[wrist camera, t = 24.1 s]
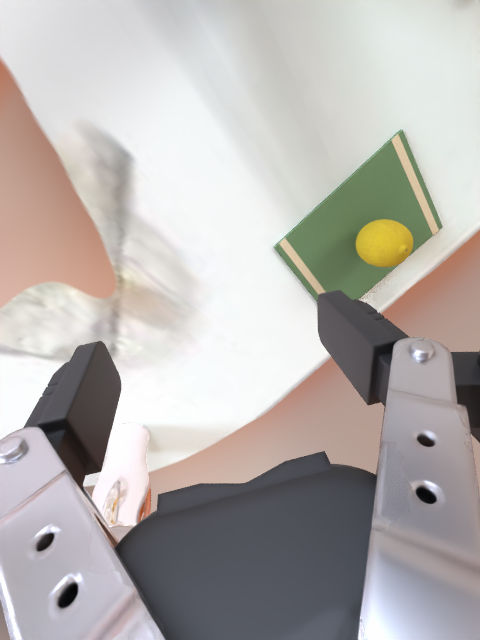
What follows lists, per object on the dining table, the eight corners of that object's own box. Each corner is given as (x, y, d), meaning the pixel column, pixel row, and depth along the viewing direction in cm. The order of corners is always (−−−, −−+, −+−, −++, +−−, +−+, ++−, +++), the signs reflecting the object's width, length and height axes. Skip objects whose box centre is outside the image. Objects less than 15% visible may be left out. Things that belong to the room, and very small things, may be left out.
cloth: (273, 246, 38) (274, 247, 37) (400, 130, 35) (403, 129, 35) (331, 320, 45) (333, 321, 44) (440, 226, 42) (443, 227, 42)
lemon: (384, 246, 41) (431, 260, 34) (349, 265, 41) (388, 283, 34) (376, 207, 38) (425, 214, 31) (339, 228, 38) (379, 239, 31)
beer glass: (93, 442, 44) (64, 556, 31) (125, 412, 43) (109, 516, 30) (132, 460, 47) (121, 570, 34) (162, 433, 46) (163, 535, 33)
